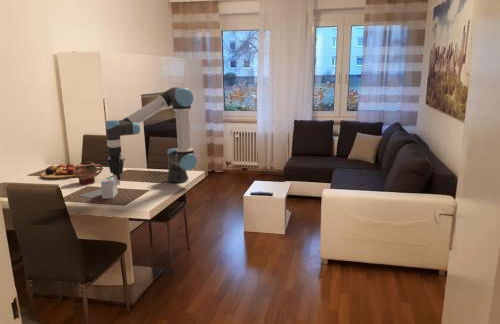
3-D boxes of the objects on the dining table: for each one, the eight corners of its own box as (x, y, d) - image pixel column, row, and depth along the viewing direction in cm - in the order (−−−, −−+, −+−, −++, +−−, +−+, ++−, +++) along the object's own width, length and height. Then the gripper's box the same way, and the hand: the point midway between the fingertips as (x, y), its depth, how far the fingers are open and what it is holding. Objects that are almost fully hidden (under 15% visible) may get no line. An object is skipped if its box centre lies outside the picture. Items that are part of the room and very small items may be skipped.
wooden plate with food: (91, 176, 285) (90, 165, 283) (43, 182, 267) (41, 170, 266) (82, 169, 311) (81, 159, 309) (38, 174, 294) (37, 163, 292)
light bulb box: (107, 193, 240) (105, 177, 238) (118, 193, 241) (116, 176, 238) (102, 198, 230) (100, 181, 227) (113, 198, 230) (111, 181, 228)
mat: (114, 190, 246) (113, 190, 246) (90, 198, 230) (90, 198, 230) (102, 188, 251) (101, 188, 251) (78, 195, 235) (78, 195, 235)
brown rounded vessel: (98, 178, 278) (96, 159, 275) (107, 180, 270) (105, 161, 267) (71, 183, 263) (68, 164, 260) (79, 187, 255) (76, 166, 252)
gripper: (127, 146, 225) (130, 184, 230) (111, 144, 231) (114, 182, 236) (117, 148, 219) (120, 187, 224) (101, 146, 225) (105, 185, 230)
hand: (117, 184), depth 230 cm, fingers closed
